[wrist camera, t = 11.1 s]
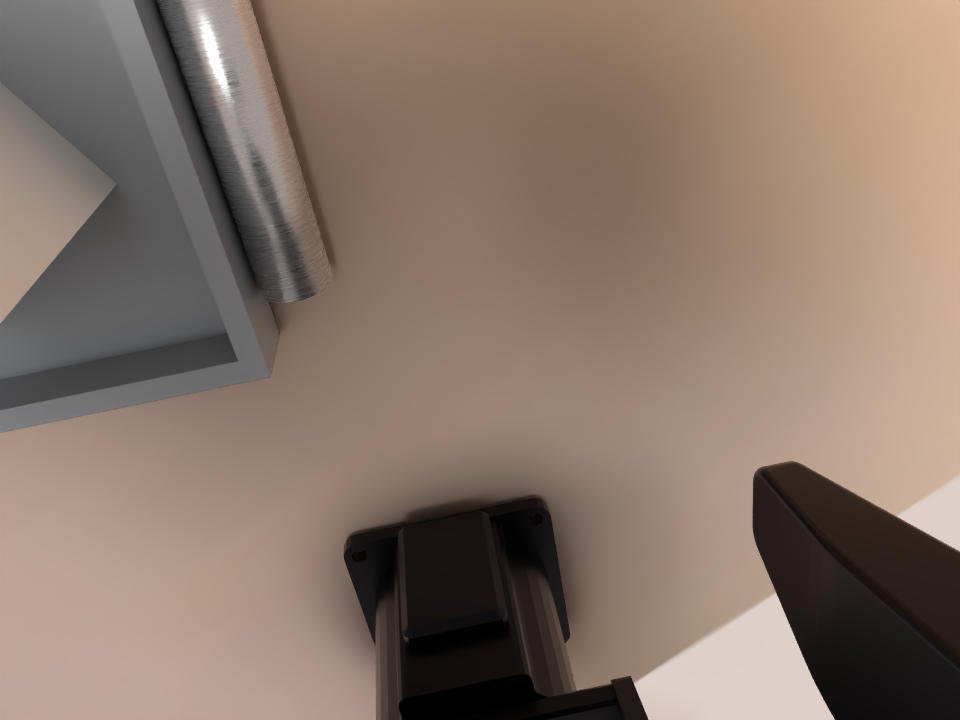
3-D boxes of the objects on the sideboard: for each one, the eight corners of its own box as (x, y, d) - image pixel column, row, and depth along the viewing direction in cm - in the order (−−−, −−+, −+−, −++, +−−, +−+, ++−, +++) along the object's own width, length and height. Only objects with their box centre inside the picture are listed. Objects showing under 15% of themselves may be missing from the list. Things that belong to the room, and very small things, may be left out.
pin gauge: (256, 284, 20) (323, 262, 21) (268, 310, 19) (341, 286, 19) (89, -183, 15) (183, -199, 16) (89, -196, 14) (192, -213, 14)
